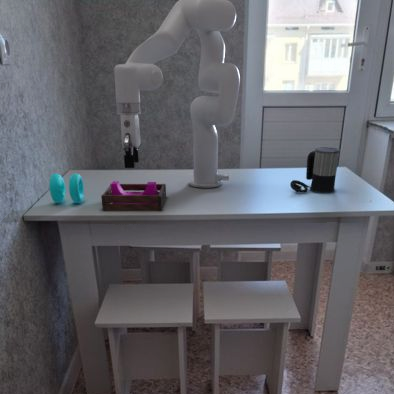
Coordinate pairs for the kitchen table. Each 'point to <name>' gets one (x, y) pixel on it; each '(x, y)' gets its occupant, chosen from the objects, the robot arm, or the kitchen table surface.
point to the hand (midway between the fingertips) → (131, 165)
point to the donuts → (59, 188)
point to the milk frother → (320, 171)
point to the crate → (134, 199)
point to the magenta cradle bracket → (149, 190)
